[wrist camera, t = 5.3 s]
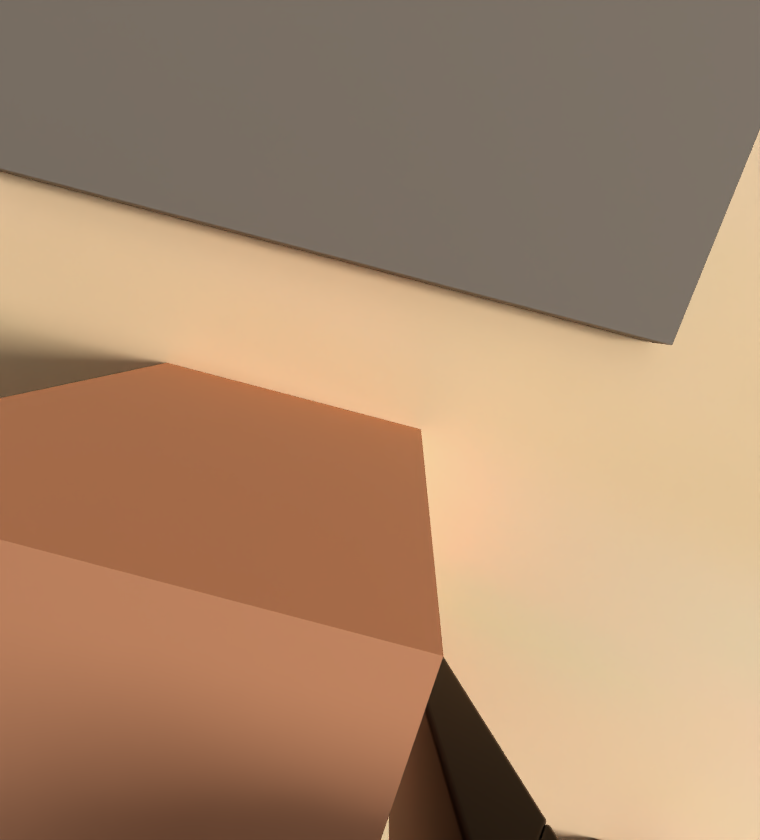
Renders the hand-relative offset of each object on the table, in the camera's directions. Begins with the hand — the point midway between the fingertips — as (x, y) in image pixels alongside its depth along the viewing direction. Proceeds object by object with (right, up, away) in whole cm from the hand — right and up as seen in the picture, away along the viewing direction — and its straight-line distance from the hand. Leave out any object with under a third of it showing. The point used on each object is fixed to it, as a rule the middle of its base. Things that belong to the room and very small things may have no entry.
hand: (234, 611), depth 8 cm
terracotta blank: (0, 0, +1) cm, 1 cm away
